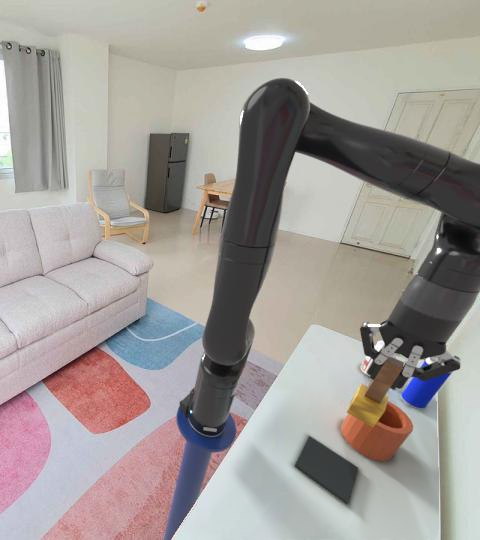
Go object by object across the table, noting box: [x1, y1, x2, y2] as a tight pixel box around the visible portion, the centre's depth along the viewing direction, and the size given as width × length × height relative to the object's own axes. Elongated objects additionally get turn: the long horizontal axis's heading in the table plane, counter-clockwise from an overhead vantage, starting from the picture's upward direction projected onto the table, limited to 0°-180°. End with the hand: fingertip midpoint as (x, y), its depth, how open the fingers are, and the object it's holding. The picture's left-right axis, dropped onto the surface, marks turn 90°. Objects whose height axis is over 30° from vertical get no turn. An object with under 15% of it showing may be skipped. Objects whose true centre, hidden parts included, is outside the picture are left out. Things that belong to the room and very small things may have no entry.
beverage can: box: [400, 356, 453, 410], centre depth 80 cm, size 5×5×15 cm
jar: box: [340, 400, 414, 462], centre depth 70 cm, size 10×10×10 cm
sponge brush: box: [346, 357, 405, 427], centre depth 56 cm, size 4×4×14 cm
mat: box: [294, 435, 359, 504], centre depth 66 cm, size 10×10×1 cm
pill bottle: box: [360, 340, 397, 377], centre depth 90 cm, size 6×6×11 cm
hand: (382, 381), depth 55 cm, fingers closed on sponge brush, 2 cm apart
